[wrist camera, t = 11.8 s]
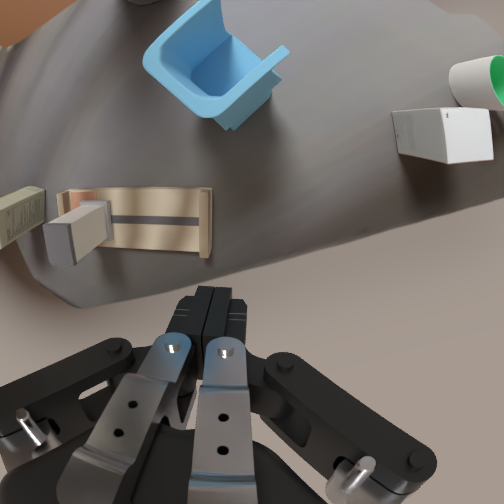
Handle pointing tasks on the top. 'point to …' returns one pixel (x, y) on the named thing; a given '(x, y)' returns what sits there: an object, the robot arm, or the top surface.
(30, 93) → the top surface
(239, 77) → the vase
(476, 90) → the mug
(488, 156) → the small box
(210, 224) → the fader track
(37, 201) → the skincare box
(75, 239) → the fader knob
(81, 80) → the top surface
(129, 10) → the top surface
